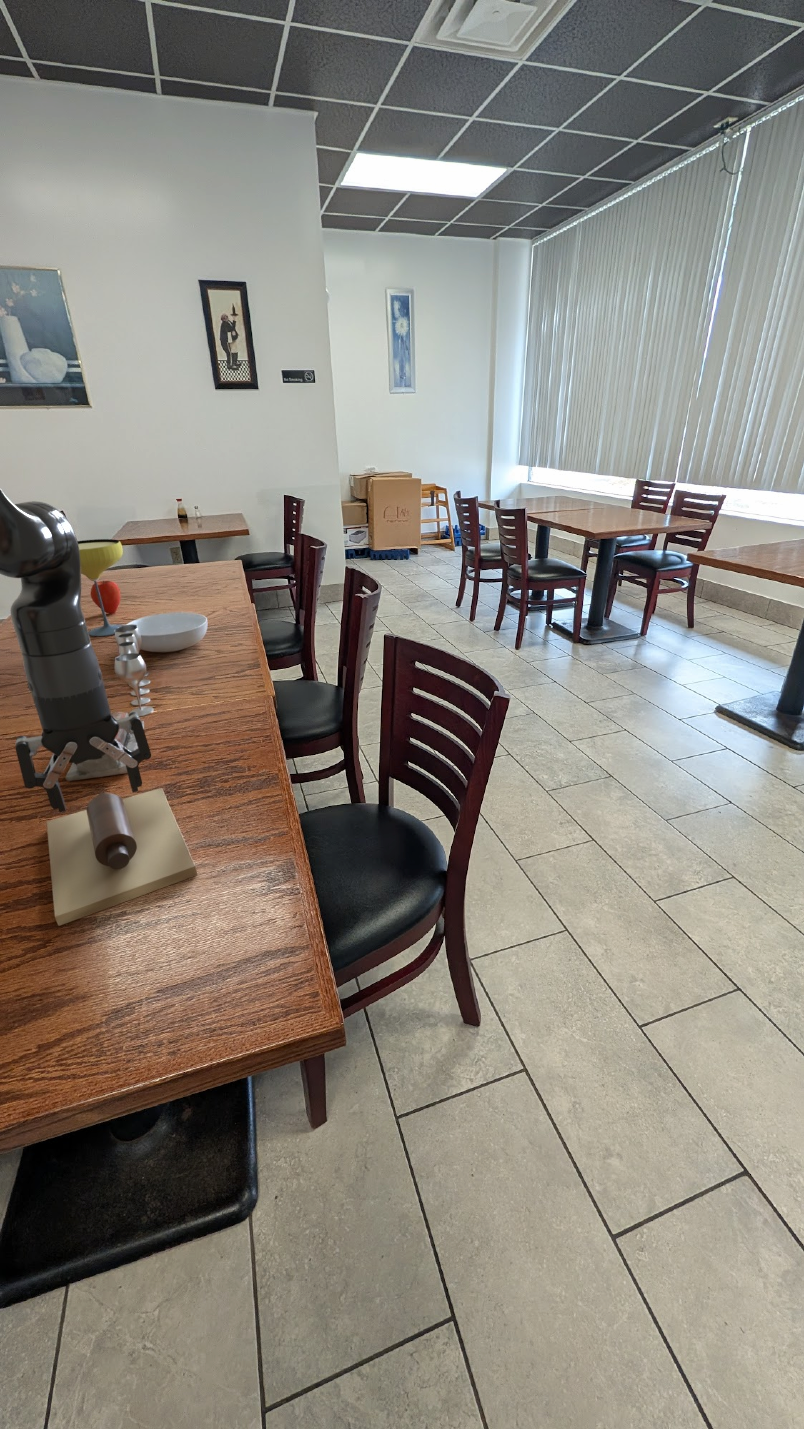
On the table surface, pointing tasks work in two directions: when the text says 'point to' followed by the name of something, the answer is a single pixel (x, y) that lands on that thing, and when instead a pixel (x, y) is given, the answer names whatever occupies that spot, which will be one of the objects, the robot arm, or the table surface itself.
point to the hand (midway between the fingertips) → (99, 798)
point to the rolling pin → (111, 831)
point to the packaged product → (105, 758)
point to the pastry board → (98, 886)
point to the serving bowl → (170, 631)
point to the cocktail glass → (99, 571)
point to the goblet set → (132, 665)
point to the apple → (107, 595)
